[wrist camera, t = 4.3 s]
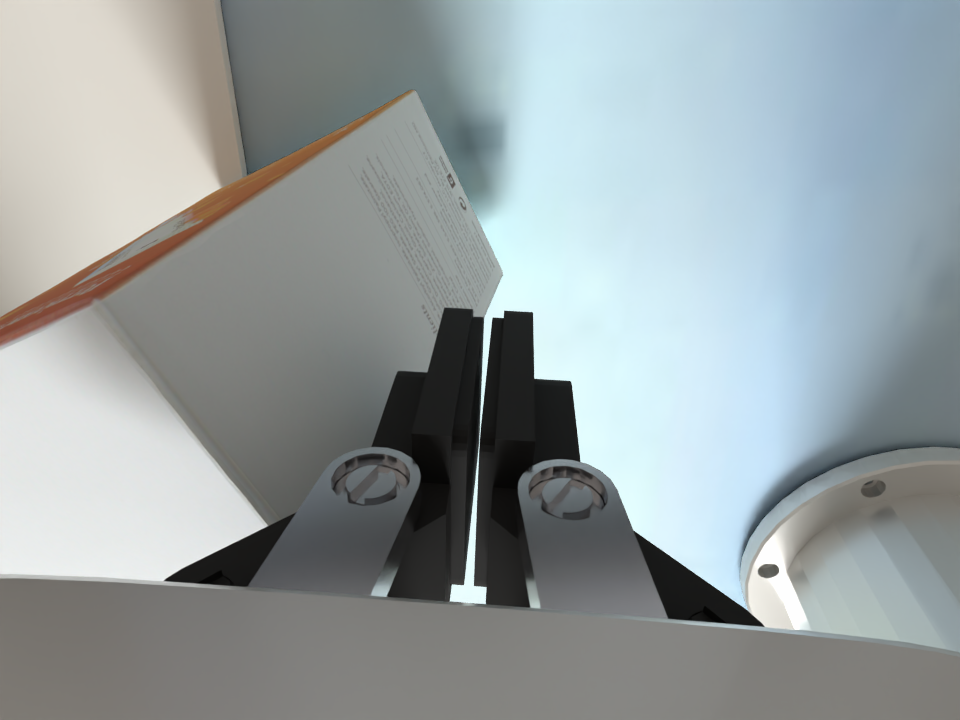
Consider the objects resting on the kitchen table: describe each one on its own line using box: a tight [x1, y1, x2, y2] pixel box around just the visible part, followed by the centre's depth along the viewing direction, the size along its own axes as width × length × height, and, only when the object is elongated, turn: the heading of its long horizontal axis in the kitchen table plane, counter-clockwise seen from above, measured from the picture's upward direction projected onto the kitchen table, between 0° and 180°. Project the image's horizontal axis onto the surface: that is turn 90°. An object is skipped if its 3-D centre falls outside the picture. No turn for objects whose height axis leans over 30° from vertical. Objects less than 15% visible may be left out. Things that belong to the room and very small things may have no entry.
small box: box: [0, 90, 503, 581], centre depth 16 cm, size 8×6×13 cm
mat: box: [0, 0, 247, 317], centre depth 22 cm, size 14×14×1 cm
